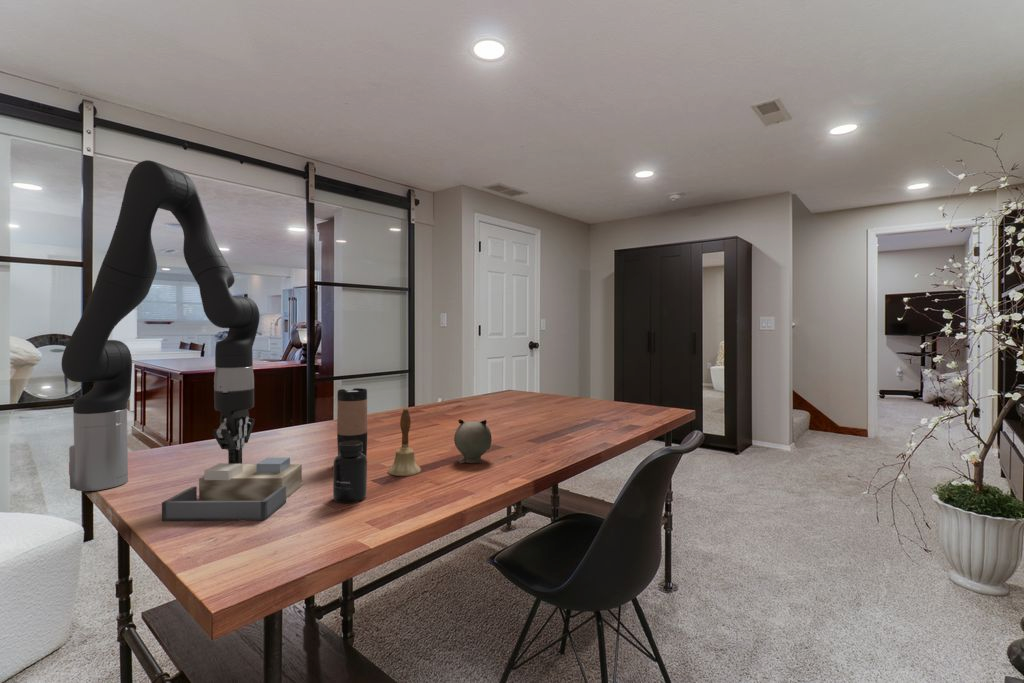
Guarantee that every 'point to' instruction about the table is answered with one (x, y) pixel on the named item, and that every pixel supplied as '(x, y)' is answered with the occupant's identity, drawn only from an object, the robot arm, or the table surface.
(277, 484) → the bench
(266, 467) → the slate tile
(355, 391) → the travel mug
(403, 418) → the hand bell
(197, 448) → the table surface
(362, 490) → the supplement bottle
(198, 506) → the tray
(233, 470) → the beige block
